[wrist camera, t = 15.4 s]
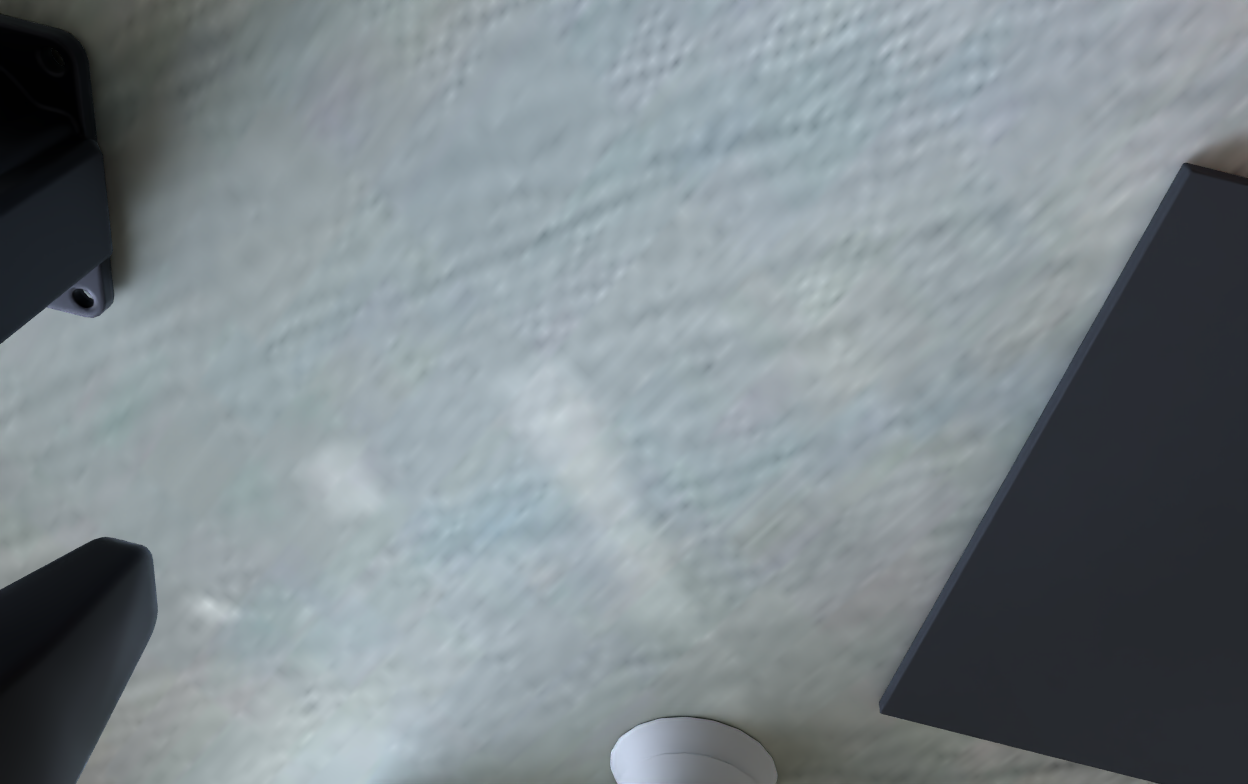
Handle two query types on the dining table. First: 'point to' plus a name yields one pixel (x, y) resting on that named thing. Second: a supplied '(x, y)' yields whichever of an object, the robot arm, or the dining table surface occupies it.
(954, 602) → the placemat
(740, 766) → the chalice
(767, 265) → the dining table surface
